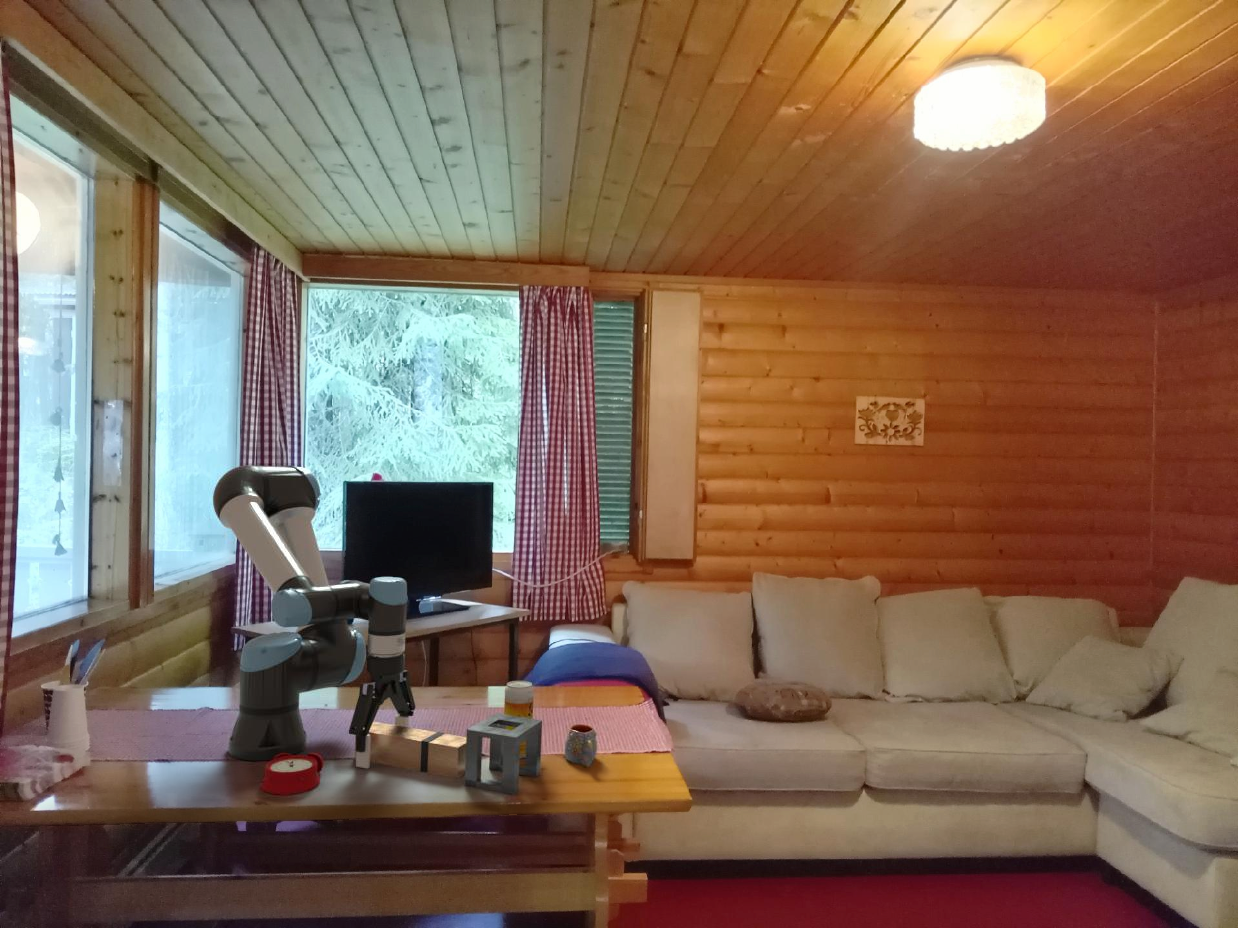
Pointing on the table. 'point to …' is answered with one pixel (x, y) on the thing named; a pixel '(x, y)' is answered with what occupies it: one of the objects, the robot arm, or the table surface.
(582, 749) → the mug
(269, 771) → the alarm clock
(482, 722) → the collar block
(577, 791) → the table surface
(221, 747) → the table surface
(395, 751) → the banded wooden beam
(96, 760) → the table surface
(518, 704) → the yellow can
